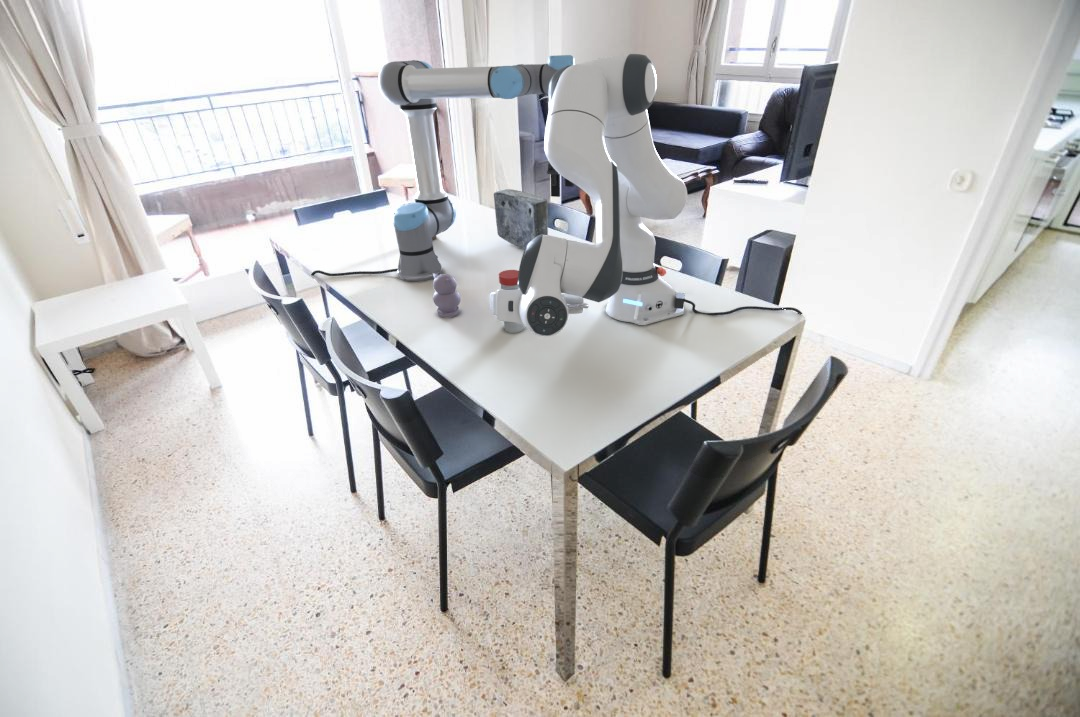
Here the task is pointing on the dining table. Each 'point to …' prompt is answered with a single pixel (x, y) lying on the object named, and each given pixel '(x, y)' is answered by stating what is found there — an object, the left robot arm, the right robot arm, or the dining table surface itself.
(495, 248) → the dining table surface
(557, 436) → the dining table surface
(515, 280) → the lid
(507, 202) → the concrete block
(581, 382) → the dining table surface
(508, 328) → the grey cylinder
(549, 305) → the right robot arm
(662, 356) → the dining table surface
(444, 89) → the left robot arm
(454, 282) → the cat figurine
